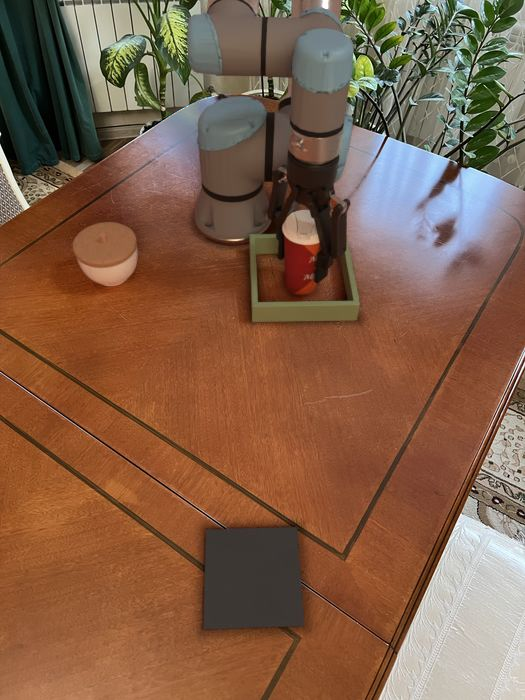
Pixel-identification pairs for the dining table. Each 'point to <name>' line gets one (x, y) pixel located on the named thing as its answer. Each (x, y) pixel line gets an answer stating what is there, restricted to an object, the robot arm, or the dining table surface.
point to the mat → (252, 579)
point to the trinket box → (106, 252)
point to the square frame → (303, 308)
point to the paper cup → (300, 252)
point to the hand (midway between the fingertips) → (302, 266)
